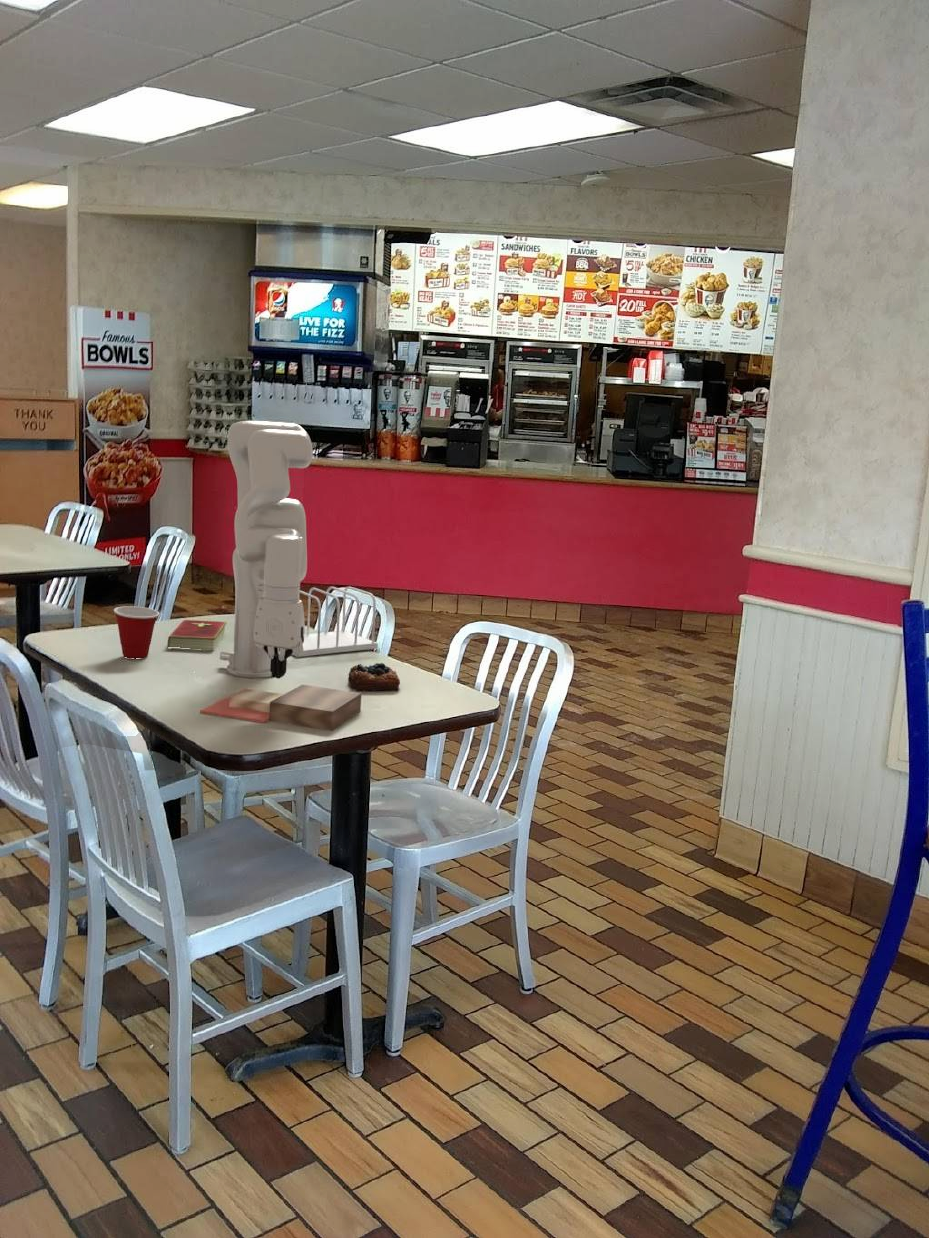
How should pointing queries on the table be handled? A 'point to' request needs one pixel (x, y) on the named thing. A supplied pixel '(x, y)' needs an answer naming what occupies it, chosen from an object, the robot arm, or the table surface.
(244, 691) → the light wooden block
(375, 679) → the pastry
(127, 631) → the plastic cup
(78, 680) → the table surface
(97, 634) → the table surface
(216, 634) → the hardcover book
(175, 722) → the table surface
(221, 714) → the mat
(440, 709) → the table surface
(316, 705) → the square wooden slab
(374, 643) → the file sorter
